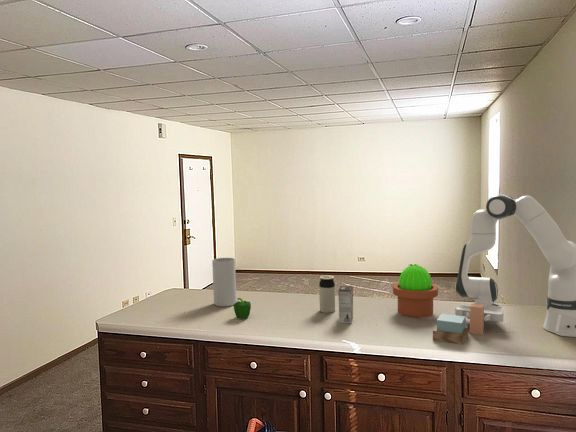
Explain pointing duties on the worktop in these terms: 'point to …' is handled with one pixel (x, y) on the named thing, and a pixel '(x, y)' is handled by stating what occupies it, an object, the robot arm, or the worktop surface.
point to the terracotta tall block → (476, 319)
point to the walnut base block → (450, 336)
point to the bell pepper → (242, 309)
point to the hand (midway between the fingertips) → (476, 318)
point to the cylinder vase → (224, 281)
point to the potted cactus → (415, 292)
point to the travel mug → (327, 294)
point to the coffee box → (345, 304)
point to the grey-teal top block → (451, 323)
